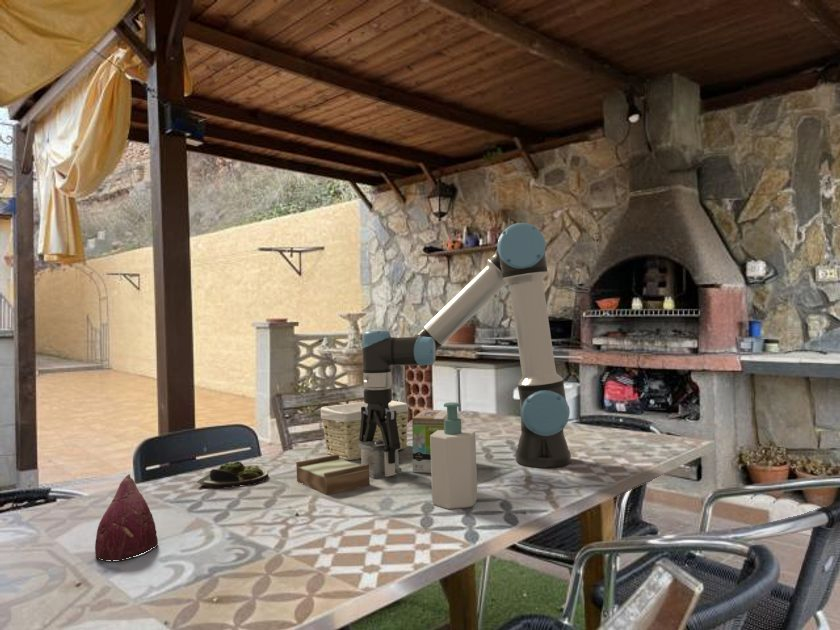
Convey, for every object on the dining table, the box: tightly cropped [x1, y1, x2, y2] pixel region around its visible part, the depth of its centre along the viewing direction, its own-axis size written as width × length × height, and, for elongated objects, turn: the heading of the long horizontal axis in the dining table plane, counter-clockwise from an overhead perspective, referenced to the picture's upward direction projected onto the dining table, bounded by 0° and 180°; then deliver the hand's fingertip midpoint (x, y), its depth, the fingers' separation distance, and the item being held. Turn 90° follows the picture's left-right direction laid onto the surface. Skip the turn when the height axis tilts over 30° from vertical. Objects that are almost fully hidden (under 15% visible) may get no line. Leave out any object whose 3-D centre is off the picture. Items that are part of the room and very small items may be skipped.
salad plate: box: [196, 460, 269, 489], centre depth 161 cm, size 19×18×5 cm
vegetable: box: [94, 474, 159, 561], centre depth 112 cm, size 10×10×15 cm
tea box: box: [411, 409, 447, 474], centre depth 166 cm, size 15×10×15 cm, turn 168°
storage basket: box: [320, 400, 409, 461], centre depth 187 cm, size 24×16×15 cm
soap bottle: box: [430, 402, 478, 510], centre depth 133 cm, size 10×9×22 cm
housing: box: [358, 439, 402, 479], centre depth 161 cm, size 7×9×9 cm
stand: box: [295, 454, 371, 496], centre depth 152 cm, size 16×12×5 cm
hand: (379, 471), depth 161 cm, fingers open, 9 cm apart
